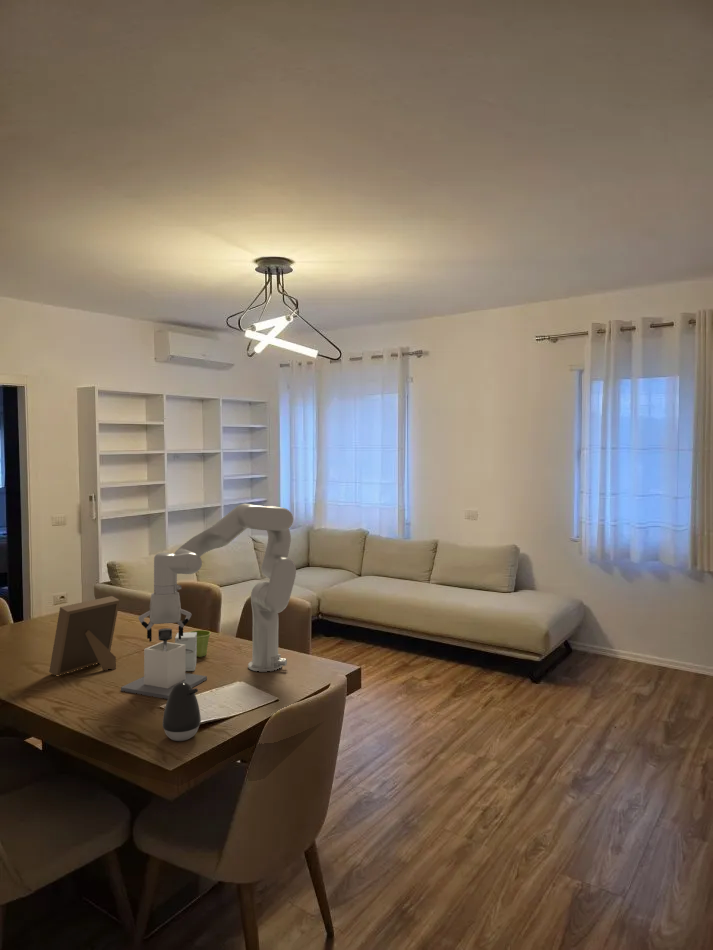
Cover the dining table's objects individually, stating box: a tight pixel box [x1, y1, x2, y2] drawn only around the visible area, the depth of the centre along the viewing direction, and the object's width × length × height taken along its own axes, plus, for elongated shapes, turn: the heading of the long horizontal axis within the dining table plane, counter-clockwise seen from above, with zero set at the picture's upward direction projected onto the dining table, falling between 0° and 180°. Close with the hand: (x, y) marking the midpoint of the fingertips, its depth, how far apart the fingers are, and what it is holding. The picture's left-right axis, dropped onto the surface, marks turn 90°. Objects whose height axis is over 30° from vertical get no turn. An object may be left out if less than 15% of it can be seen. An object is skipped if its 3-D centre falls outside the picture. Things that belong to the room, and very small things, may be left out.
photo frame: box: [49, 595, 120, 676], centre depth 229 cm, size 15×22×25 cm
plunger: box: [157, 628, 173, 651], centre depth 215 cm, size 7×7×17 cm
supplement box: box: [174, 631, 197, 672], centre depth 232 cm, size 7×7×13 cm
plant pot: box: [190, 629, 212, 658], centre depth 248 cm, size 9×9×9 cm
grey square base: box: [120, 641, 208, 700], centre depth 215 cm, size 20×20×13 cm
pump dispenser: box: [162, 682, 202, 742], centre depth 175 cm, size 10×10×15 cm
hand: (165, 639), depth 214 cm, fingers open, 9 cm apart
